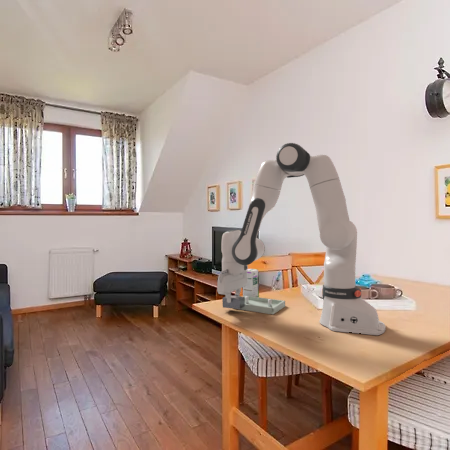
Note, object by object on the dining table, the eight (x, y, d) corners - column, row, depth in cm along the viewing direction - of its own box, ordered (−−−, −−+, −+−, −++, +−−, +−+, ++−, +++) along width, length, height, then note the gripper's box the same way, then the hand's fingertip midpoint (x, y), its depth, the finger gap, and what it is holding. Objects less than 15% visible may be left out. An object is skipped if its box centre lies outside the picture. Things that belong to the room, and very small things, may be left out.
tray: (285, 306, 146) (285, 297, 146) (273, 314, 134) (273, 304, 134) (245, 300, 157) (245, 292, 157) (230, 308, 145) (230, 299, 145)
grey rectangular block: (244, 306, 140) (244, 296, 140) (240, 309, 135) (239, 298, 135) (227, 304, 143) (227, 294, 143) (222, 307, 139) (222, 297, 139)
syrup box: (252, 301, 156) (252, 270, 155) (242, 299, 159) (242, 269, 159) (259, 298, 160) (258, 269, 160) (248, 297, 164) (248, 268, 163)
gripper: (226, 272, 128) (227, 307, 129) (249, 265, 146) (250, 296, 146) (212, 271, 132) (214, 305, 132) (237, 264, 149) (238, 294, 149)
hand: (233, 300), depth 139 cm, fingers closed on grey rectangular block, 5 cm apart
